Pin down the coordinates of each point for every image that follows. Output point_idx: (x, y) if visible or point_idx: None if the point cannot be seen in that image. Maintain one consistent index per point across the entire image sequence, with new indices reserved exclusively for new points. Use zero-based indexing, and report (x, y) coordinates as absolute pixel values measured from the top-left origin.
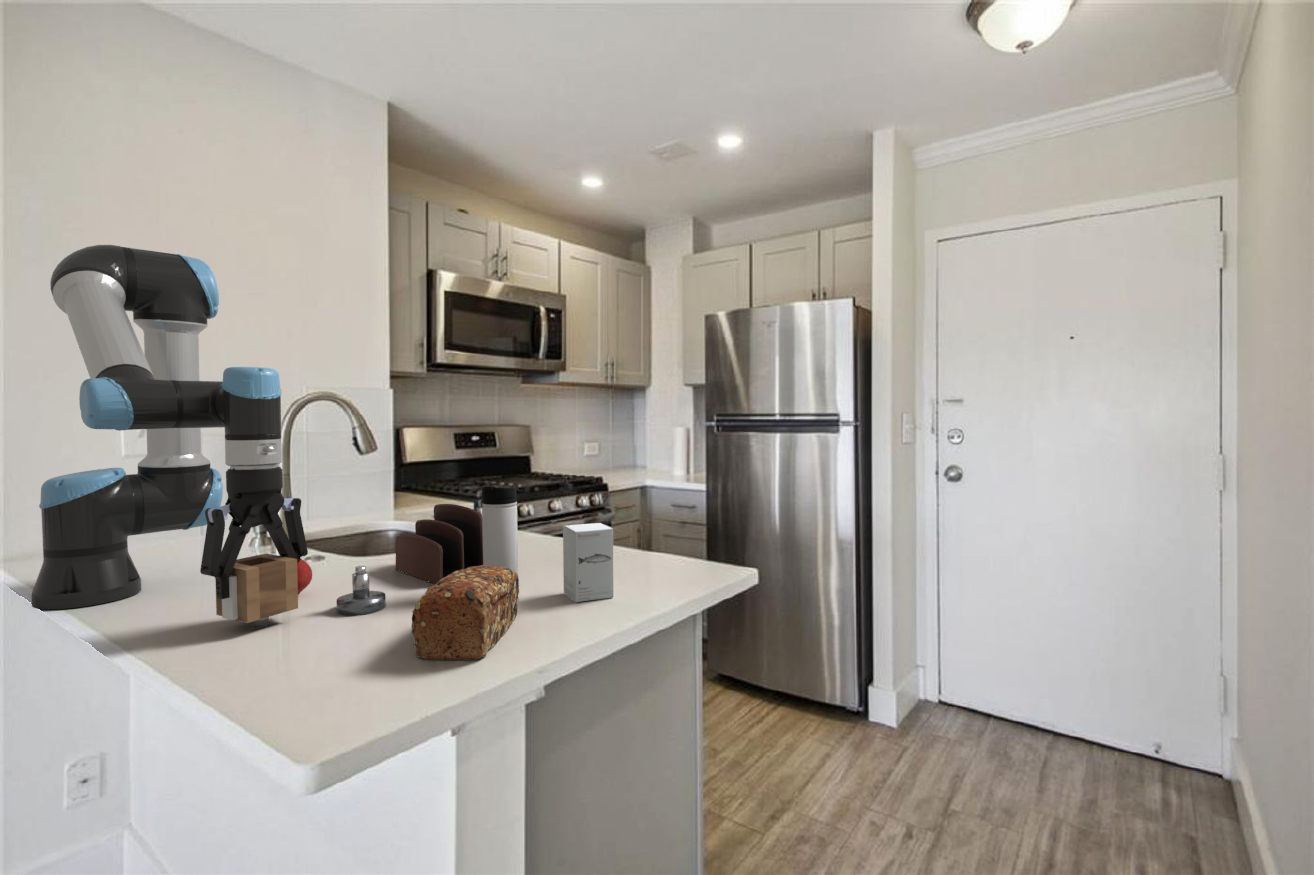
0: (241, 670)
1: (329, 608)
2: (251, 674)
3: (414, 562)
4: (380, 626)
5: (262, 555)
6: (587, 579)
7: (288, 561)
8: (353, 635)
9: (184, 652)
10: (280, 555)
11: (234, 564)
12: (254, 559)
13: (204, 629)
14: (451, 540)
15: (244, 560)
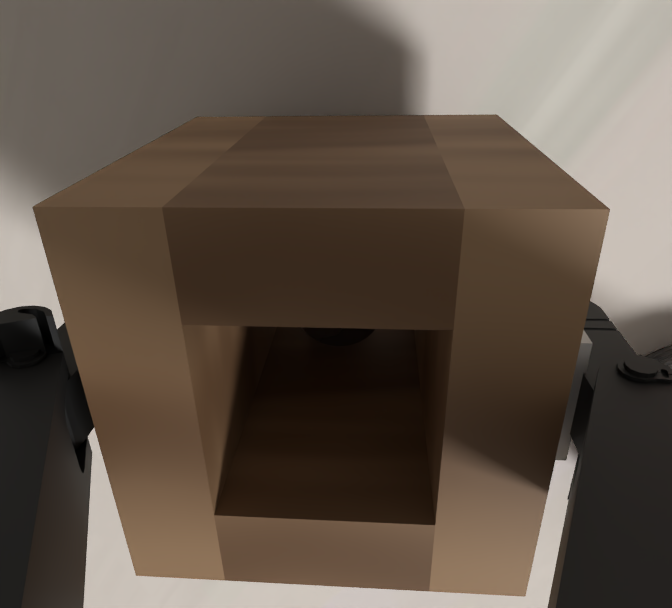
0: (100, 552)
1: (663, 297)
2: (106, 587)
3: None
4: (519, 601)
5: (512, 267)
6: None
7: (451, 589)
8: (420, 592)
9: (31, 287)
10: (595, 395)
11: (87, 508)
12: (374, 325)
13: (183, 44)
14: None
15: (279, 316)
